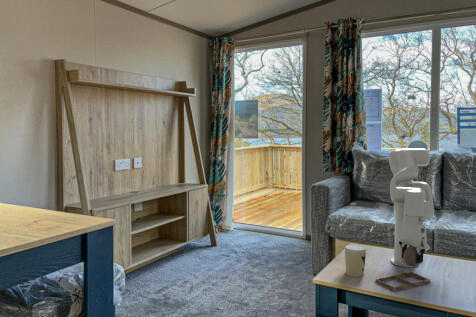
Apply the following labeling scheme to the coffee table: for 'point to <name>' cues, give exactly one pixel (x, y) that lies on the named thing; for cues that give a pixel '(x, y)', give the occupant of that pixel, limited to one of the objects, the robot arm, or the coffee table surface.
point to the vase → (410, 256)
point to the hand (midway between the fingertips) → (412, 259)
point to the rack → (402, 281)
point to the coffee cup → (355, 260)
